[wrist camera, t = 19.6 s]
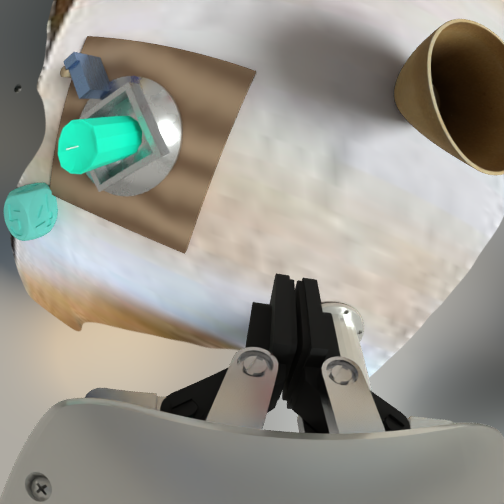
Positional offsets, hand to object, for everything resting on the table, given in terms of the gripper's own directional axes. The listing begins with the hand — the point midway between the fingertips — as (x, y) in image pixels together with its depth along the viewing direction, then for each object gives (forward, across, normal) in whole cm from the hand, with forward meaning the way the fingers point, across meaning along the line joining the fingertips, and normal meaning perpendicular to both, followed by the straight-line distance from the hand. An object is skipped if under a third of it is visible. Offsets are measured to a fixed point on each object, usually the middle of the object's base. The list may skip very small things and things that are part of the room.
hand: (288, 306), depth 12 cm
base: (+27, +22, -4) cm, 35 cm away
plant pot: (+27, -16, -15) cm, 35 cm away
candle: (+25, +22, -4) cm, 33 cm away
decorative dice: (+28, +42, +8) cm, 51 cm away
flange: (+26, +23, -6) cm, 35 cm away
